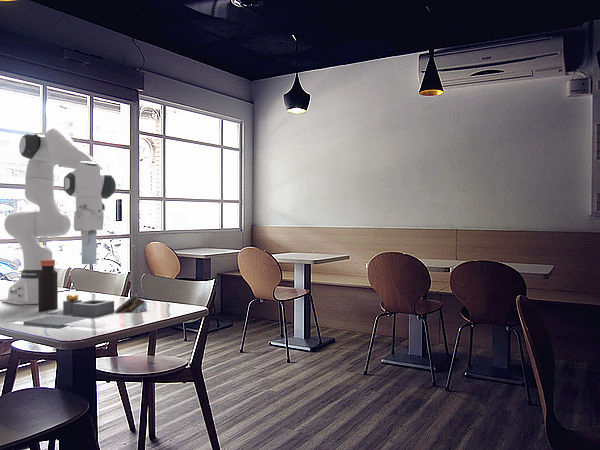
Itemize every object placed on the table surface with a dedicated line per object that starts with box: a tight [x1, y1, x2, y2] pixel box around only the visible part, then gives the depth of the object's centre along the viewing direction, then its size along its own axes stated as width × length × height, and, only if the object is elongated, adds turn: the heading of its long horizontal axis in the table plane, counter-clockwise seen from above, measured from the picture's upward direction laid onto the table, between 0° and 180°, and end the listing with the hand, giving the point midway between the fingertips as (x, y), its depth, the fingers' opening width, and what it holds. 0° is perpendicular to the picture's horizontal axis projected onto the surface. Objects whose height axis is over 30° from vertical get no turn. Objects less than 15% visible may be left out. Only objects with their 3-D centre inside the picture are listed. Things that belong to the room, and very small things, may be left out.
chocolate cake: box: [115, 292, 148, 314], centre depth 196 cm, size 10×7×12 cm
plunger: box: [66, 294, 79, 302], centre depth 194 cm, size 4×4×6 cm
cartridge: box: [81, 230, 98, 265], centre depth 189 cm, size 5×5×12 cm
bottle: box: [37, 259, 59, 313], centre depth 199 cm, size 7×7×20 cm
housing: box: [46, 299, 117, 319], centre depth 192 cm, size 22×16×5 cm
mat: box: [23, 315, 88, 329], centre depth 178 cm, size 16×12×1 cm
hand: (88, 242), depth 188 cm, fingers closed on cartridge, 5 cm apart
